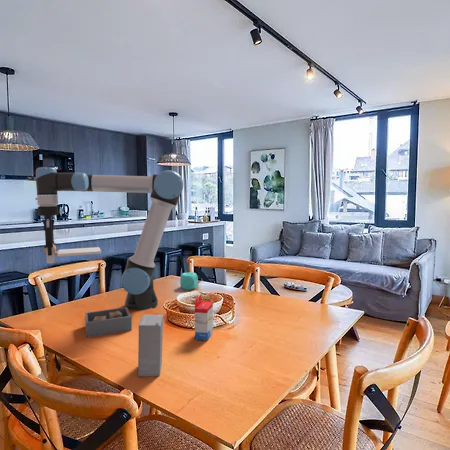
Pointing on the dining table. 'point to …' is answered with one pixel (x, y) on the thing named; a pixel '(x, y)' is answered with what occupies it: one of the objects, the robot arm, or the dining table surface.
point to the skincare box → (150, 345)
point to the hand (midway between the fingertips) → (50, 261)
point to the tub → (107, 322)
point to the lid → (75, 251)
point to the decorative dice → (189, 281)
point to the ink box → (203, 319)
